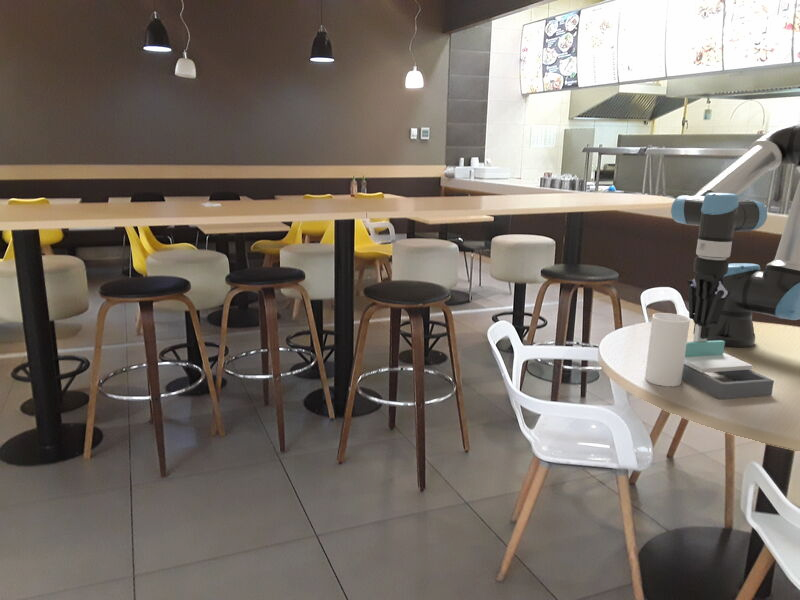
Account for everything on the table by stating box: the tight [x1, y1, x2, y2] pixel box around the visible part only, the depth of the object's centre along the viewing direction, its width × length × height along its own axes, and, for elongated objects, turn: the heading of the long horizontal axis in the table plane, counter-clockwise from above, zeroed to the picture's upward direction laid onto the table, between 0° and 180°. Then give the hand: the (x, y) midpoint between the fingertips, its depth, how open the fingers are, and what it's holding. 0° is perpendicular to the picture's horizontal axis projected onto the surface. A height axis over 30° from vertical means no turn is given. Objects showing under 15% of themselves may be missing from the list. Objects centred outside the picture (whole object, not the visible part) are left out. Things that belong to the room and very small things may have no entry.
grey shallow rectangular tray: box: [682, 364, 775, 400], centre depth 153 cm, size 14×22×4 cm, turn 13°
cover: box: [684, 340, 753, 374], centre depth 152 cm, size 14×9×4 cm
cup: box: [644, 312, 691, 388], centre depth 151 cm, size 8×8×16 cm
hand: (698, 349), depth 158 cm, fingers closed
